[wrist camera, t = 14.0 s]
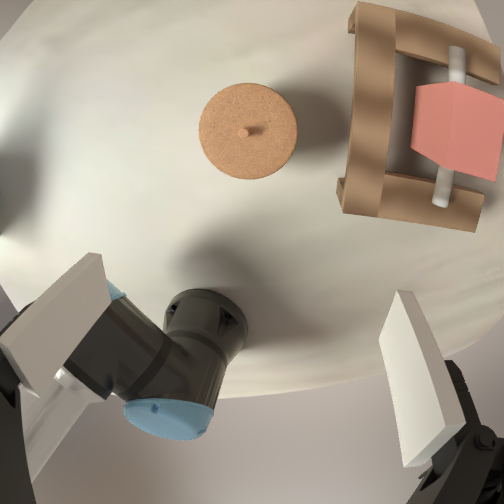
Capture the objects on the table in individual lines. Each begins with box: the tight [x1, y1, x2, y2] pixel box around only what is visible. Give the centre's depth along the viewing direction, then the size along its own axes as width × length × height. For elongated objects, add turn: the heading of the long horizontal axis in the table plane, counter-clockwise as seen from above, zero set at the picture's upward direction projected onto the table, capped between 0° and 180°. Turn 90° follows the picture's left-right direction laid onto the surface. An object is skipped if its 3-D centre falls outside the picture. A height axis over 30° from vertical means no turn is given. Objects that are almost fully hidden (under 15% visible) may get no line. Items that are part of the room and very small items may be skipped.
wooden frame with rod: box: [336, 1, 500, 233], centre depth 28 cm, size 24×18×10 cm
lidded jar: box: [199, 83, 298, 179], centre depth 33 cm, size 11×11×9 cm
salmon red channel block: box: [410, 81, 504, 182], centre depth 24 cm, size 8×6×12 cm
